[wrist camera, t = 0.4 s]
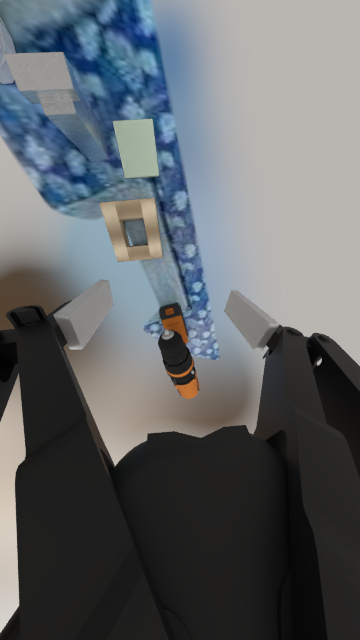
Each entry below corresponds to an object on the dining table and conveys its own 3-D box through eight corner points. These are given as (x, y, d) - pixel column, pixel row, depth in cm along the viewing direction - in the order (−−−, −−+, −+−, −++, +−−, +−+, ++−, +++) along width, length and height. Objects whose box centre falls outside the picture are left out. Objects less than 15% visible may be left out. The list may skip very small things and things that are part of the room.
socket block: (106, 206, 29) (99, 202, 26) (155, 202, 30) (154, 198, 26) (122, 259, 35) (118, 262, 32) (162, 255, 36) (162, 257, 32)
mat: (113, 123, 23) (112, 121, 23) (152, 121, 24) (152, 118, 23) (125, 179, 27) (125, 178, 27) (159, 176, 28) (158, 175, 27)
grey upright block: (77, 132, 24) (-4, 37, 12) (108, 130, 24) (58, 35, 12) (86, 162, 26) (24, 104, 14) (115, 160, 26) (77, 101, 14)
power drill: (151, 290, 41) (138, 347, 20) (174, 283, 40) (185, 335, 20) (170, 339, 53) (175, 407, 32) (188, 334, 52) (204, 400, 32)
